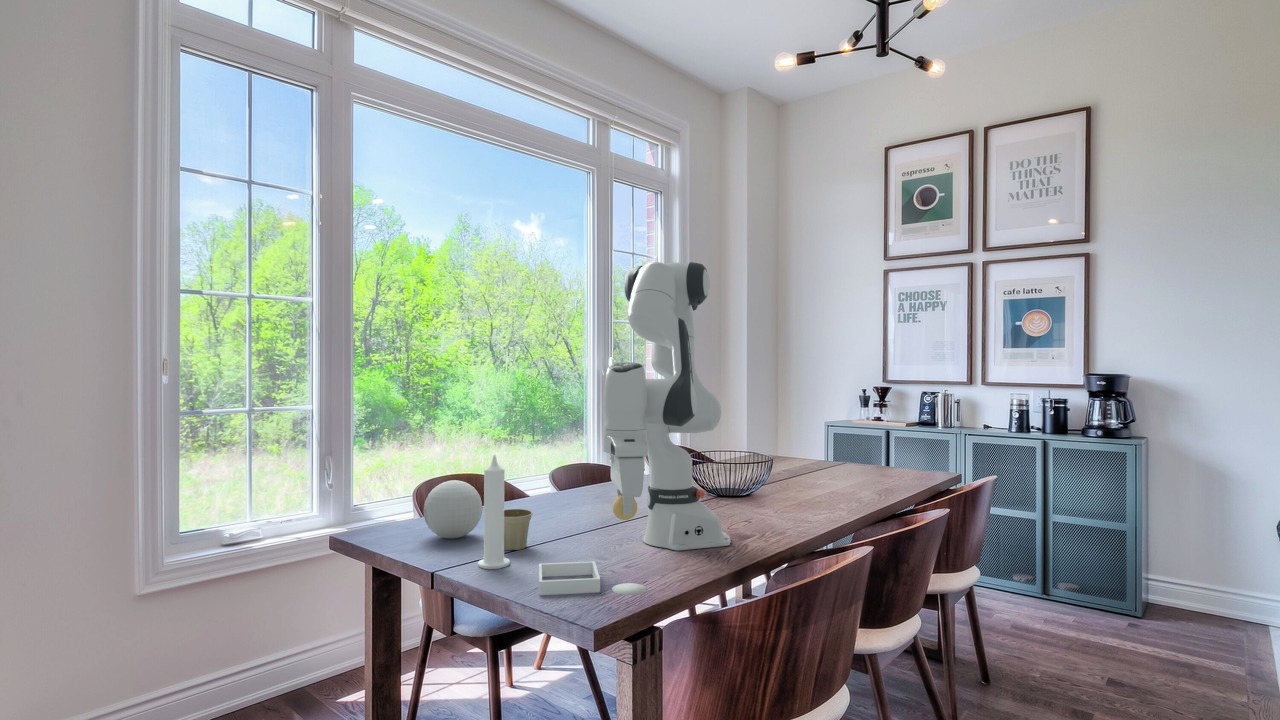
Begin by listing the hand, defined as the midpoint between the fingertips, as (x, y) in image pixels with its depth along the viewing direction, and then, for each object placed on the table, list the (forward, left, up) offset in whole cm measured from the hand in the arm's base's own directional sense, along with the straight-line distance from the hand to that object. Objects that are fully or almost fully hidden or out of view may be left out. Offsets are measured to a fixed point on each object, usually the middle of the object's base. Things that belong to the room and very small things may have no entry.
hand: (625, 511), depth 135 cm
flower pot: (+23, -36, -16) cm, 45 cm away
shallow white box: (+11, -5, -16) cm, 20 cm away
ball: (0, 0, -2) cm, 2 cm away
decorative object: (+39, -48, -16) cm, 64 cm away
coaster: (-1, 0, -16) cm, 16 cm away
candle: (+27, -22, -16) cm, 38 cm away
